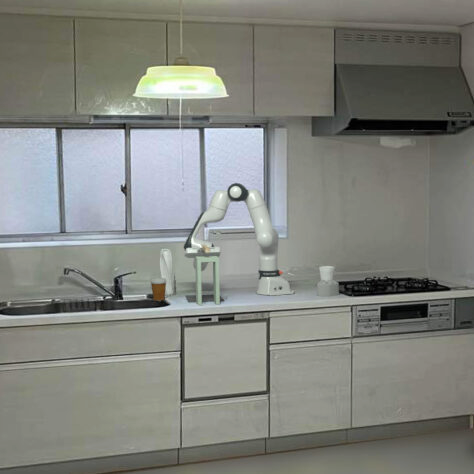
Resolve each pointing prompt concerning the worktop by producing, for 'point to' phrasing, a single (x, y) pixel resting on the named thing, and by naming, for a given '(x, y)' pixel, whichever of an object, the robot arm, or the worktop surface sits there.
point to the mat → (204, 298)
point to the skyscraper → (167, 271)
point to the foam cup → (326, 272)
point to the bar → (205, 248)
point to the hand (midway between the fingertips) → (204, 246)
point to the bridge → (215, 278)
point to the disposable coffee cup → (158, 288)
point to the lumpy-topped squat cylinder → (327, 288)
